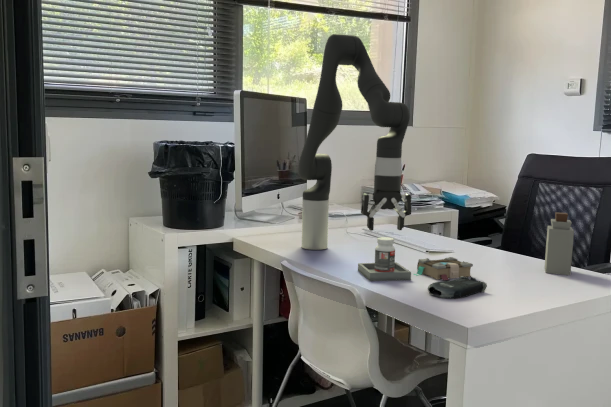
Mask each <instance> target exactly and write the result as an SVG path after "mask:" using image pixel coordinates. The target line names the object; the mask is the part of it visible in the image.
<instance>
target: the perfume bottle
mask: <svg viewBox="0 0 611 407" xmlns="http://www.w3.org/2000/svg"><path fill="white" fill-rule="evenodd" d="M554 213H555V216H554V217H555V218H551V219H550V222H551V225H547V229H546V231H547V232H546V240H545V241H546V242H545V255H544V257H545V258H544V271H545V274H552V275H563V276H571V274H572V273H571V272H572V263H573V262H572V259H573V249H574V247H573V246H574V237H575V236H574V234H575V233H574V232H575V230H574V229H573V227H572V224H573V222H572V221H571V220H570V219H568V217H569V214H568V212H556V211H555V212H554Z"/></svg>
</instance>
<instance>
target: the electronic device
mask: <svg viewBox="0 0 611 407" xmlns="http://www.w3.org/2000/svg"><path fill="white" fill-rule="evenodd" d="M487 288H488V284H487V282H485V281H481V280H477V279H476V278H475V277H473V276H471V277H463V276H461V277H460V278H455V279H452V280H440V281H436V282H435V281H434V282H432V283H430V284H429V285H428V287H427V291H428V292H429V296H433V297H437V298H441V299H460V298H464V297H467V296H471V295H474V294H477V293H479V292H480V293H485V292H486V290H487ZM438 291H439V292H438ZM433 292H438V293H437V294H438V295H434V294H433Z"/></svg>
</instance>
